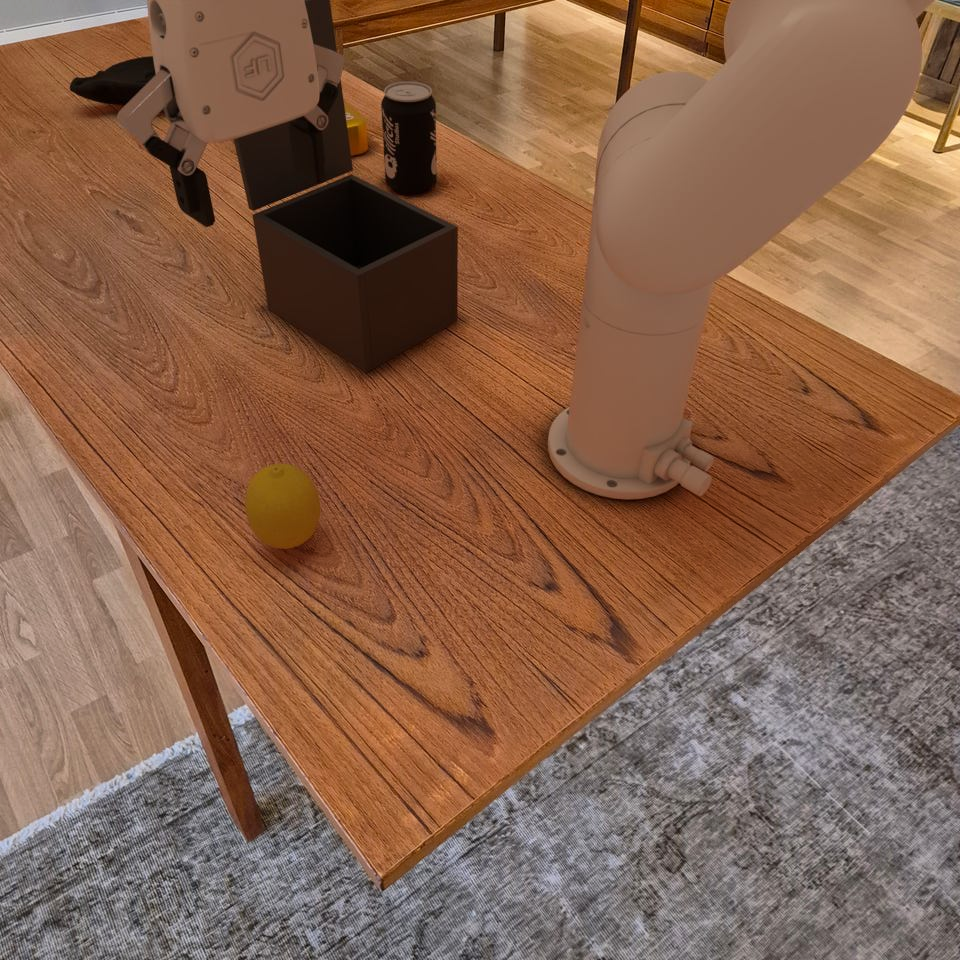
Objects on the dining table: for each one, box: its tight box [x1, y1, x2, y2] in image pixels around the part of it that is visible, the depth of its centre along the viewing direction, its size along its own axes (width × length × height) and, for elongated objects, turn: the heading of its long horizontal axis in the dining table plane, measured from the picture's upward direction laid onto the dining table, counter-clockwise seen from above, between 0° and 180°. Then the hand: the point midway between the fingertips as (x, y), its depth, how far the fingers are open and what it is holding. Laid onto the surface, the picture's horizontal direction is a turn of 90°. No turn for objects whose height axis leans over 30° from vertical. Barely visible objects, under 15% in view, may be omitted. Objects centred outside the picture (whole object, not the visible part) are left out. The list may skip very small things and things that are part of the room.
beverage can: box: [380, 81, 438, 196], centre depth 110 cm, size 7×7×12 cm
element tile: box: [343, 97, 369, 157], centre depth 121 cm, size 15×15×5 cm
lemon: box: [244, 463, 322, 550], centre depth 67 cm, size 6×6×8 cm
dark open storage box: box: [251, 173, 459, 374], centre depth 89 cm, size 16×13×11 cm
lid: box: [233, 0, 354, 212], centre depth 85 cm, size 16×13×5 cm
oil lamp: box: [69, 55, 156, 106], centre depth 130 cm, size 15×20×5 cm
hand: (257, 197), depth 66 cm, fingers open, 9 cm apart
